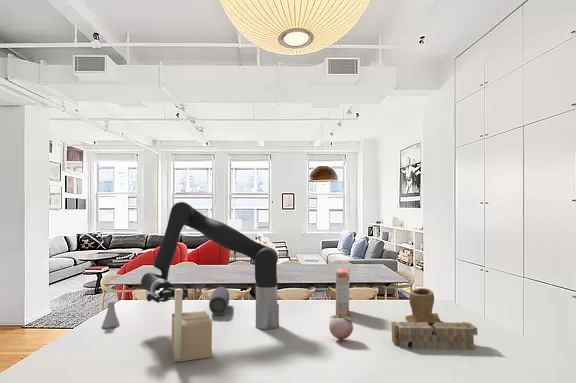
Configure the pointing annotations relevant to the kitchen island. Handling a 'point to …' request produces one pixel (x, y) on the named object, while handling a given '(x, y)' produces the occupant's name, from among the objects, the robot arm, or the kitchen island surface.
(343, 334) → the decorative fruit
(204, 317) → the brown carton
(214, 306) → the bluetooth speaker
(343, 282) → the cracker box
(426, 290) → the stone cup
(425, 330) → the block tower
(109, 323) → the flask
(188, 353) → the beige l-shaped piece
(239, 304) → the kitchen island surface
